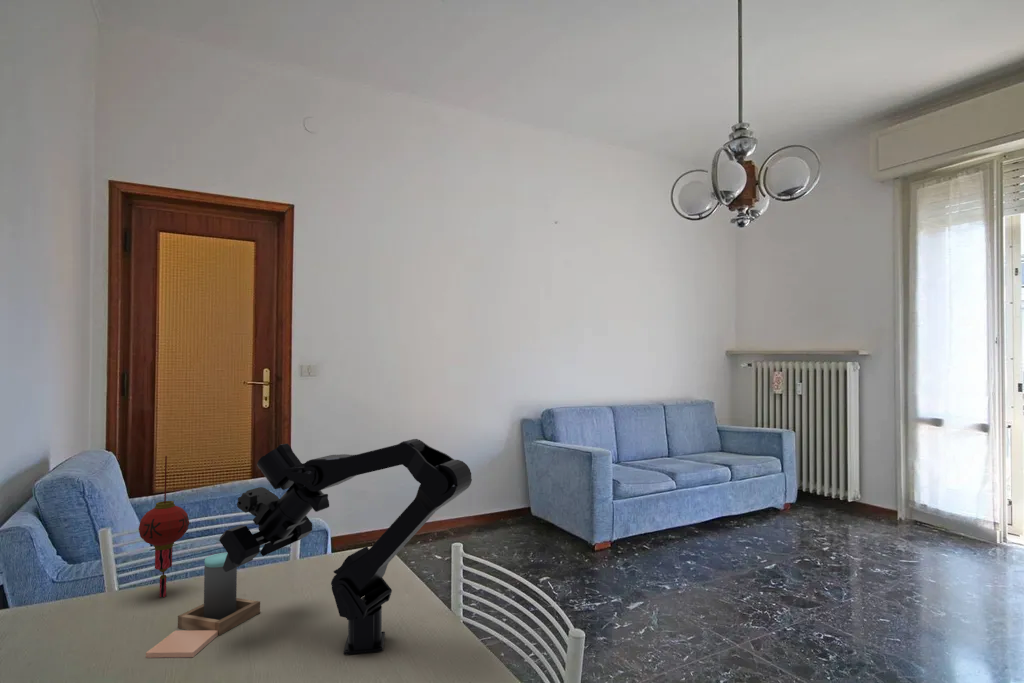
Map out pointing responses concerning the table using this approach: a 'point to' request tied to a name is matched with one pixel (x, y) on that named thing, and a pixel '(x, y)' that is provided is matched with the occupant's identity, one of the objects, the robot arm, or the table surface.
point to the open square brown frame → (198, 622)
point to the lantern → (163, 532)
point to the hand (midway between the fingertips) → (244, 561)
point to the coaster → (182, 644)
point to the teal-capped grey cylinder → (219, 588)
